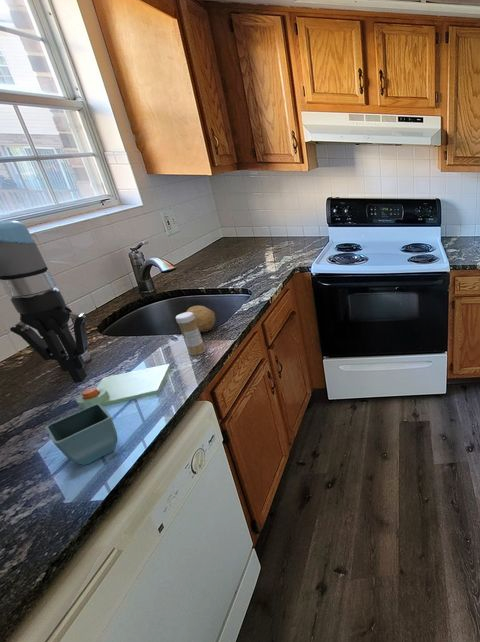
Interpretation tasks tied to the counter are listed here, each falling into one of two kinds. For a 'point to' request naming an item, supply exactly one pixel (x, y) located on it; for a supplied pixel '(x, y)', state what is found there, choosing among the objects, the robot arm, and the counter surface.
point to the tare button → (90, 393)
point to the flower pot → (84, 434)
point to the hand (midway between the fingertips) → (80, 379)
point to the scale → (128, 386)
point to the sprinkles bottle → (191, 333)
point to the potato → (203, 317)
